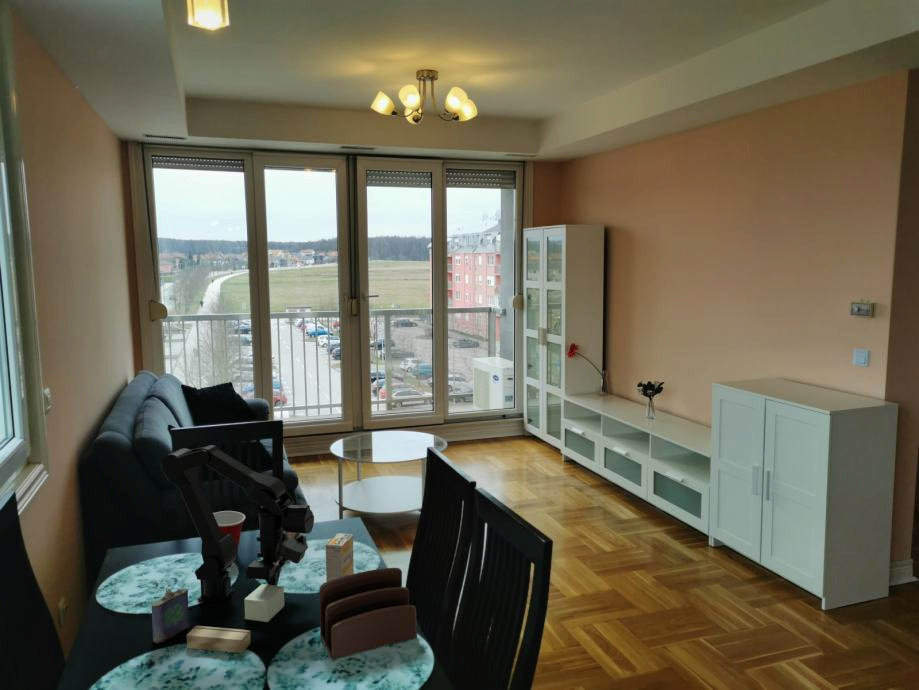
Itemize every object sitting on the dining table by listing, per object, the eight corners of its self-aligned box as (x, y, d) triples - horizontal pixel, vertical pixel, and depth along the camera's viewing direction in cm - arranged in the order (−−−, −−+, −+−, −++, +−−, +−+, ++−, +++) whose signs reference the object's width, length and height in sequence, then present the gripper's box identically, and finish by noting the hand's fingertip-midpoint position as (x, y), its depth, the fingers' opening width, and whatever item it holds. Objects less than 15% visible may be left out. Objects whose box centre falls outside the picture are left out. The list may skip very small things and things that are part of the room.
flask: (157, 644, 151) (155, 599, 150) (149, 641, 153) (146, 596, 152) (192, 625, 159) (189, 582, 158) (183, 622, 161) (181, 579, 160)
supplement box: (343, 595, 174) (342, 546, 172) (326, 593, 175) (324, 544, 173) (354, 580, 182) (353, 533, 181) (338, 578, 183) (336, 532, 181)
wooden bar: (187, 647, 150) (186, 634, 150) (197, 638, 154) (196, 625, 154) (242, 653, 148) (241, 639, 148) (250, 643, 152) (250, 629, 151)
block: (245, 618, 162) (244, 599, 162) (262, 602, 170) (262, 583, 170) (267, 622, 161) (266, 602, 160) (284, 605, 169) (283, 586, 168)
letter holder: (320, 638, 154) (318, 579, 152) (401, 618, 163) (400, 562, 161) (331, 661, 145) (330, 598, 144) (417, 638, 154) (416, 579, 152)
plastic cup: (237, 565, 192) (235, 524, 190) (200, 563, 193) (198, 522, 191) (253, 549, 202) (251, 510, 201) (218, 547, 204) (216, 509, 202)
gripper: (287, 547, 158) (289, 610, 160) (315, 518, 177) (317, 575, 178) (242, 544, 160) (245, 607, 162) (275, 515, 178) (277, 572, 180)
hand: (273, 589), depth 170 cm, fingers closed
